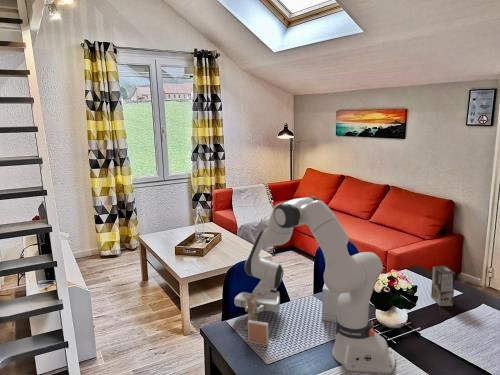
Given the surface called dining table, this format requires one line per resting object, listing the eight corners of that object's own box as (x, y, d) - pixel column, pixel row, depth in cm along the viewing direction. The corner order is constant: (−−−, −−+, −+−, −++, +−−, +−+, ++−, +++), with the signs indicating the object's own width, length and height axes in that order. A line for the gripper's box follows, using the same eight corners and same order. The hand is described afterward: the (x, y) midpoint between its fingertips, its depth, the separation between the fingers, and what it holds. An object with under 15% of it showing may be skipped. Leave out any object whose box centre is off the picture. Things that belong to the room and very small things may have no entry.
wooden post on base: (260, 322, 165) (259, 293, 162) (255, 331, 159) (254, 301, 156) (250, 320, 167) (249, 292, 164) (244, 329, 160) (243, 300, 158)
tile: (268, 343, 151) (268, 323, 149) (267, 345, 150) (266, 325, 148) (249, 339, 154) (249, 319, 152) (248, 342, 152) (247, 321, 151)
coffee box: (453, 306, 175) (456, 273, 171) (439, 306, 175) (441, 273, 171) (443, 296, 184) (446, 265, 180) (430, 296, 184) (432, 265, 180)
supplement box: (342, 323, 163) (343, 291, 160) (321, 320, 166) (321, 289, 163) (344, 312, 172) (345, 282, 169) (324, 310, 175) (324, 280, 172)
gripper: (240, 286, 176) (228, 300, 163) (282, 292, 169) (274, 307, 156) (240, 299, 177) (229, 314, 165) (282, 305, 170) (274, 321, 158)
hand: (251, 310), depth 160 cm, fingers closed on wooden post on base, 3 cm apart
